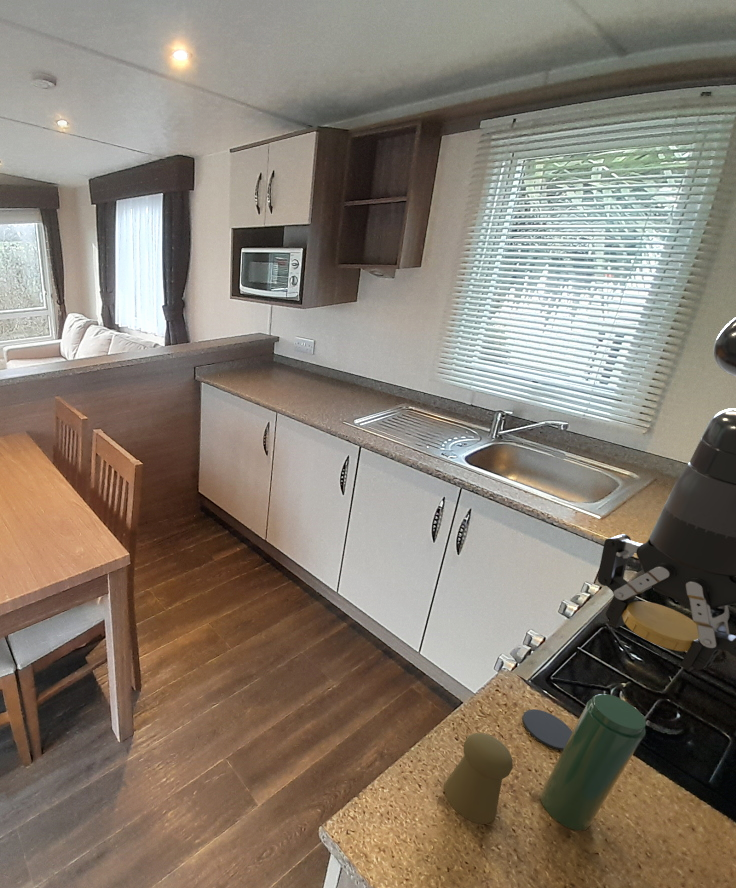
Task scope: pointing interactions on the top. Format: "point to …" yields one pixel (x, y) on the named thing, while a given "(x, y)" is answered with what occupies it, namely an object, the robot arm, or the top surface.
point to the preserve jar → (592, 760)
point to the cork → (479, 778)
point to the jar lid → (661, 625)
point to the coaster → (546, 728)
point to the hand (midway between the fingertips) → (651, 644)
